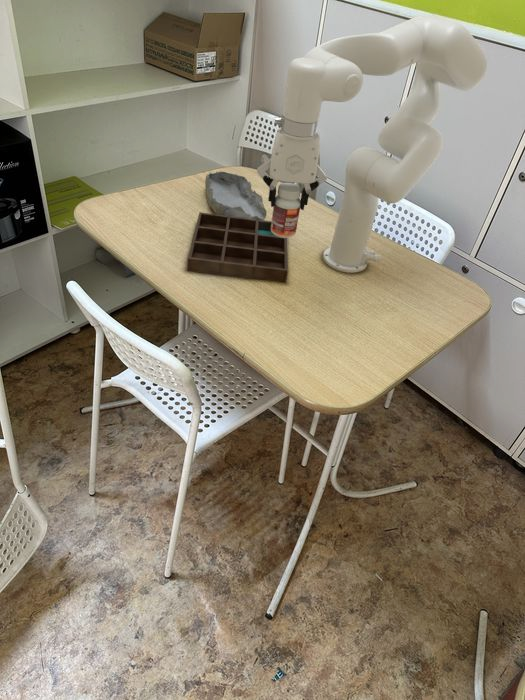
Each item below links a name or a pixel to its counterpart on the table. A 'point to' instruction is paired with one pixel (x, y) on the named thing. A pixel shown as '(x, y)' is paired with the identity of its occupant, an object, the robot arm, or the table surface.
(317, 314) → the table surface
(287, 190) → the pill bottle
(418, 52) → the robot arm
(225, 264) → the grid board
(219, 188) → the stone
